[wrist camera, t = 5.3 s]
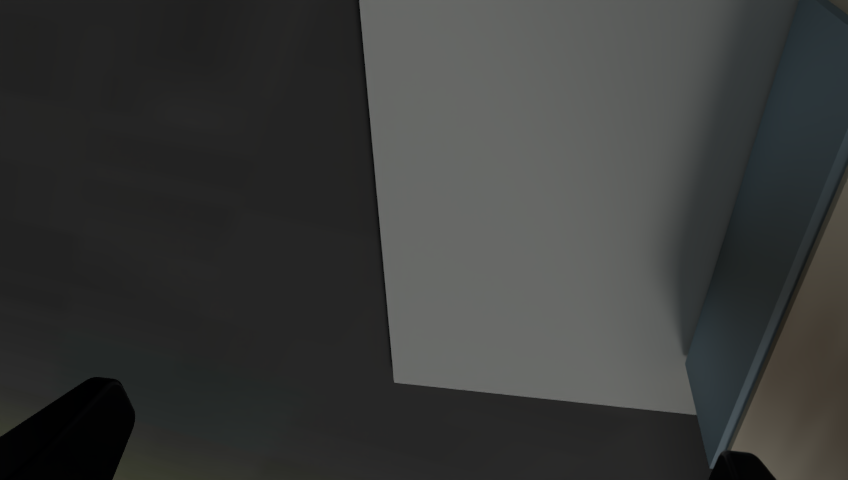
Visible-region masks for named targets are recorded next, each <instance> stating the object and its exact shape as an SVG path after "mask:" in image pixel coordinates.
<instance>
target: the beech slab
mask: <svg viewBox="0 0 848 480" xmlns="http://www.w3.org/2000/svg"><path fill="white" fill-rule="evenodd" d="M685 366H686V371H687V375H688V379H689V383H690V388H691V392H692V396H693V400H694V405H695V409H696V413H697V417H698V422H699V426H700V430H701V434H702V439H703V443H704V447H705V451H706V456H707V460H708V464H709V468H712V469H713V468H714V466H715V463H716V461H717V459H718V456H719V455H720V453H721V452H722V451H724V450H731V451H740V452H749V453H752V454H754V455H756V456H757V457H758V458H759V459H760V460H761V461H762V462H763V464H764V465H765V466H766V467H767V468H768V470H769V471H770V472H771V473H772V475H773V476H774V477H775V478H776V480H848V0H799V2H798V5H797V8H796V11H795V14H794V18H793V21H792V24H791V27H790V30H789V33H788V37H787V40H786V43H785V46H784V49H783V53H782V56H781V59H780V62H779V65H778V68H777V72H776V75H775V78H774V81H773V84H772V88H771V91H770V94H769V97H768V100H767V104H766V107H765V110H764V113H763V116H762V119H761V123H760V126H759V129H758V132H757V135H756V139H755V142H754V145H753V148H752V151H751V154H750V158H749V161H748V164H747V167H746V170H745V174H744V177H743V180H742V183H741V186H740V190H739V193H738V196H737V199H736V202H735V205H734V209H733V212H732V215H731V218H730V221H729V225H728V228H727V231H726V234H725V237H724V241H723V244H722V247H721V250H720V253H719V256H718V260H717V263H716V266H715V269H714V272H713V276H712V279H711V282H710V285H709V288H708V291H707V295H706V298H705V301H704V304H703V307H702V311H701V314H700V317H699V320H698V323H697V327H696V330H695V333H694V336H693V339H692V342H691V346H690V349H689V352H688V355H687V358H686V362H685Z"/></svg>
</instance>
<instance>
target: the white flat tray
mask: <svg viewBox="0 0 848 480" xmlns="http://www.w3.org/2000/svg"><path fill="white" fill-rule="evenodd" d="M798 2H799V0H359V4H360V15H361V26H362V37H363V48H364V59H365V70H366V81H367V91H368V102H369V113H370V124H371V135H372V146H373V157H374V168H375V179H376V190H377V200H378V211H379V222H380V233H381V244H382V255H383V266H384V277H385V288H386V299H387V309H388V320H389V331H390V342H391V353H392V364H393V375H394V382H395V383H404V384H413V385H423V386H432V387H441V388H450V389H460V390H469V391H478V392H488V393H497V394H506V395H516V396H525V397H534V398H544V399H553V400H562V401H572V402H581V403H590V404H600V405H609V406H618V407H627V408H637V409H646V410H655V411H665V412H674V413H683V414H693V415H697V413H696V409H695V405H694V400H693V396H692V392H691V388H690V383H689V379H688V375H687V371H686V366H685V362H686V358H687V355H688V352H689V349H690V346H691V342H692V339H693V336H694V333H695V330H696V327H697V323H698V320H699V317H700V314H701V311H702V307H703V304H704V301H705V298H706V295H707V291H708V288H709V285H710V282H711V279H712V276H713V272H714V269H715V266H716V263H717V260H718V256H719V253H720V250H721V247H722V244H723V241H724V237H725V234H726V231H727V228H728V225H729V221H730V218H731V215H732V212H733V209H734V205H735V202H736V199H737V196H738V193H739V190H740V186H741V183H742V180H743V177H744V174H745V170H746V167H747V164H748V161H749V158H750V154H751V151H752V148H753V145H754V142H755V139H756V135H757V132H758V129H759V126H760V123H761V119H762V116H763V113H764V110H765V107H766V104H767V100H768V97H769V94H770V91H771V88H772V84H773V81H774V78H775V75H776V72H777V68H778V65H779V62H780V59H781V56H782V53H783V49H784V46H785V43H786V40H787V37H788V33H789V30H790V27H791V24H792V21H793V18H794V14H795V11H796V8H797V5H798Z"/></svg>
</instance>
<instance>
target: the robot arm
mask: <svg viewBox="0 0 848 480" xmlns="http://www.w3.org/2000/svg"><path fill="white" fill-rule="evenodd" d="M134 422H135V411H134V409H133V407H132V405H131V403H130V400H129V398H128V396H127V394H126V392H125V390H124V388H123V386H122V384H121V383H120V382H119V381H118V380H116V379H110V378H102V377H93V378H90V379H88V380H86V381H84V382H83V383H81V384H80V385H78V386H77V387H75V388H74V389H72V390H71V391H69V392H68V393H66V394H65V395H63V396H62V397H60V398H58V399H57V400H55V401H54V402H52V403H51V404H49V405H48V406H46V407H45V408H43V409H42V410H40V411H39V412H37V413H36V414H34V415H33V416H31V417H30V418H28V419H27V420H25V421H24V422H22V423H21V424H19V425H18V426H16V427H15V428H13V429H11V430H10V431H8V432H7V433H5V434H4V435H2V436H1V437H0V480H112V479H113V477H114V474H115V472H116V469H117V467H118V464H119V462H120V459H121V457H122V454H123V452H124V449H125V447H126V444H127V442H128V439H129V437H130V434H131V432H132V429H133V427H134ZM708 480H776V478H775V477H774V476H773V475H772V473H771V472H770V471H769V470H768V468H767V467H766V466H765V465H764V464H763V462H762V461H761V460H760V459H759V458H758V457H757V456H756V455H754V454H752V453H749V452H740V451H731V450H724V451H722V452H721V453H720V455H719V456H718V459H717V461H716V463H715V466H714V468H713V470H712V472H711V475H710V477H709V479H708Z"/></svg>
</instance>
